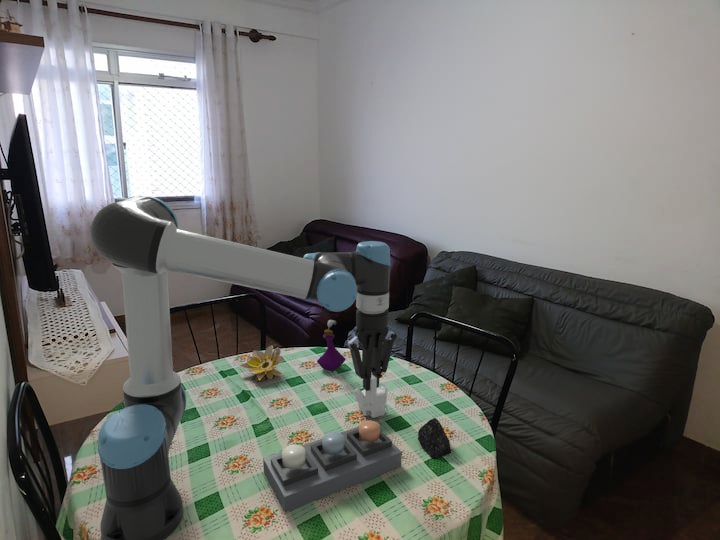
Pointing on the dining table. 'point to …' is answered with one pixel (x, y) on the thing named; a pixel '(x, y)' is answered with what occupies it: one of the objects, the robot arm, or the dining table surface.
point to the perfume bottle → (330, 352)
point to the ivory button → (293, 456)
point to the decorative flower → (264, 363)
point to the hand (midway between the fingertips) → (370, 400)
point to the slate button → (333, 443)
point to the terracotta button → (369, 431)
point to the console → (330, 469)
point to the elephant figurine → (375, 408)
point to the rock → (434, 439)
